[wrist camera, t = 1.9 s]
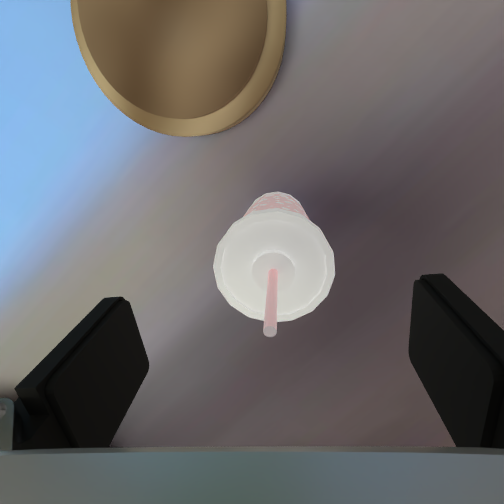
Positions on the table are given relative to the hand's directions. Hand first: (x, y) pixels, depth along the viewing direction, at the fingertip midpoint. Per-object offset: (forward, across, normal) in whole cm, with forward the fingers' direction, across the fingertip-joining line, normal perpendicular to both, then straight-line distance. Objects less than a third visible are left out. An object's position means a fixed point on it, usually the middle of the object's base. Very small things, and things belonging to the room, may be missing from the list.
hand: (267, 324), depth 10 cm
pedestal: (+15, +4, -12) cm, 19 cm away
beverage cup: (+15, 0, +1) cm, 15 cm away
